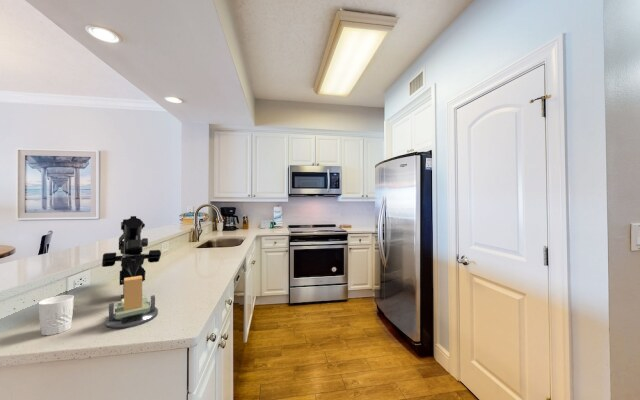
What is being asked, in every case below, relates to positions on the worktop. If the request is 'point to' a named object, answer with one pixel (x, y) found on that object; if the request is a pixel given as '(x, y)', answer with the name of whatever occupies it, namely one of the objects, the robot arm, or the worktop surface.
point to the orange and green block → (132, 298)
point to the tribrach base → (130, 317)
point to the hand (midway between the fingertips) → (133, 276)
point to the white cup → (55, 314)
